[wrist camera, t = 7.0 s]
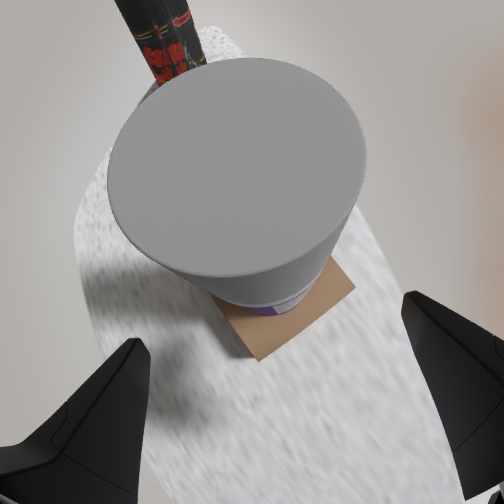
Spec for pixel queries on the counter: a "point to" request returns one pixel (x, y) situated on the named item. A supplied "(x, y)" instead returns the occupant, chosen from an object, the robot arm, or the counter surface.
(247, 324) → the base block
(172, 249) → the container
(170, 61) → the deodorant
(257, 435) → the counter surface
